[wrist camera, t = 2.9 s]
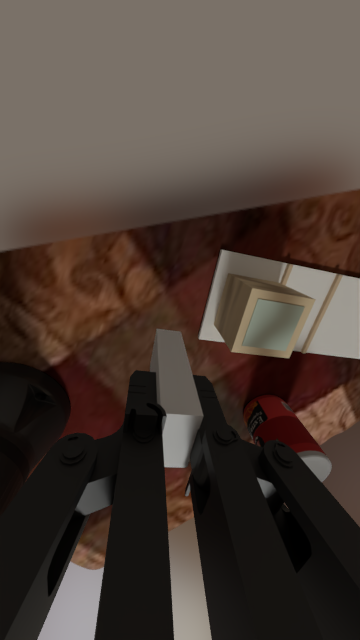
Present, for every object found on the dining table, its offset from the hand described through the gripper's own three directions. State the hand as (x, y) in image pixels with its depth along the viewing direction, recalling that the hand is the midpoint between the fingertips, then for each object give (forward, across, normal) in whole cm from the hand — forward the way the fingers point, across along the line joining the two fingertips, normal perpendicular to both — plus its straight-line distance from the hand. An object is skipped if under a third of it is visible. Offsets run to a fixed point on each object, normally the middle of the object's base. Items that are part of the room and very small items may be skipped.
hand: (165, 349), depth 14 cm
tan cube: (+14, +12, 0) cm, 18 cm away
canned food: (+15, +22, -19) cm, 32 cm away
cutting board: (+15, +22, 0) cm, 26 cm away
